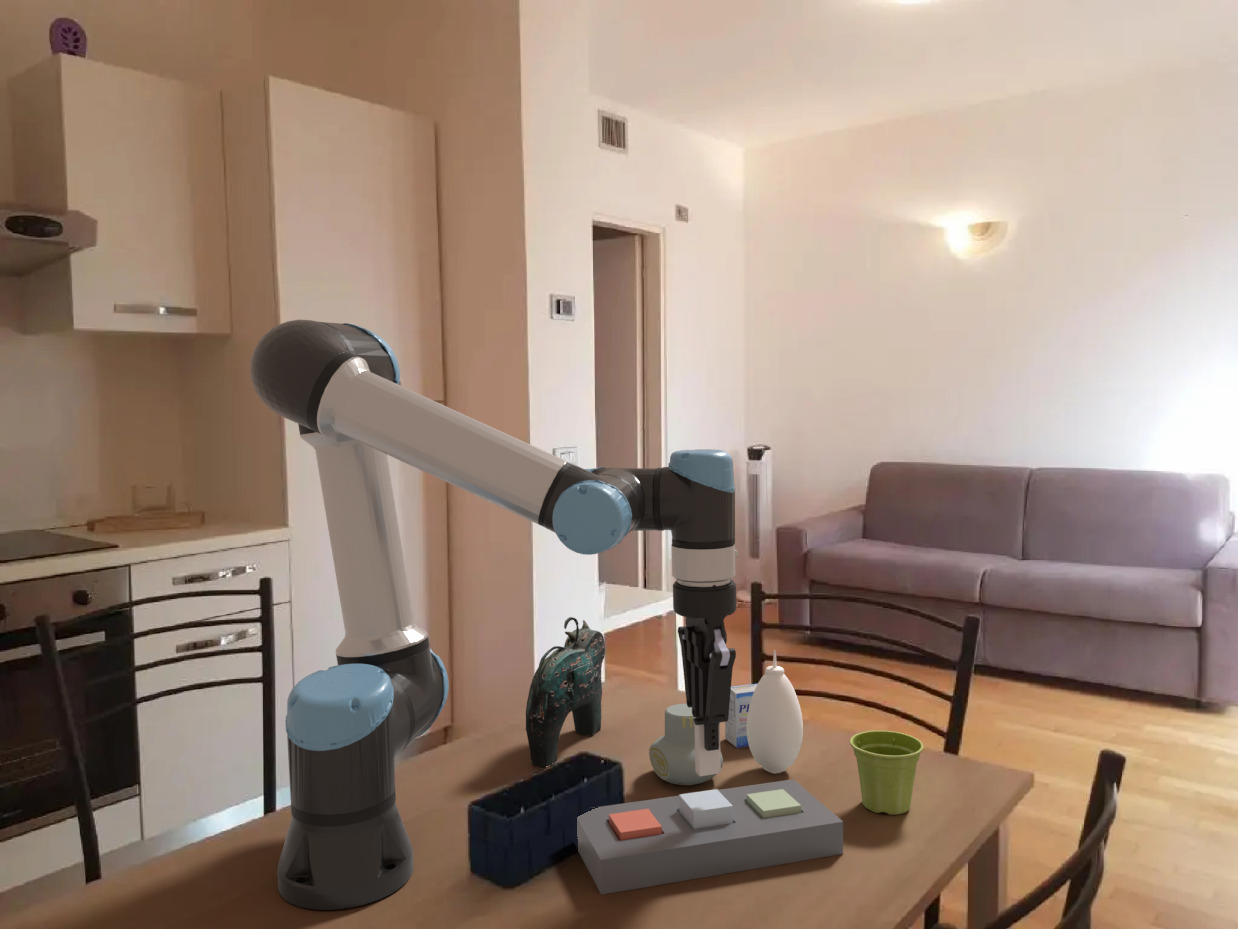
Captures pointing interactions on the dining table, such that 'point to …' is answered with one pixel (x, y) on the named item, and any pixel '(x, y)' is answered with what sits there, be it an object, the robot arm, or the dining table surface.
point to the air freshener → (677, 748)
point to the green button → (773, 803)
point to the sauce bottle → (774, 721)
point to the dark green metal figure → (565, 692)
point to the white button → (705, 809)
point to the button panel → (705, 840)
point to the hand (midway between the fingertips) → (708, 772)
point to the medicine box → (739, 715)
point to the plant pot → (886, 769)
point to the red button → (634, 824)
